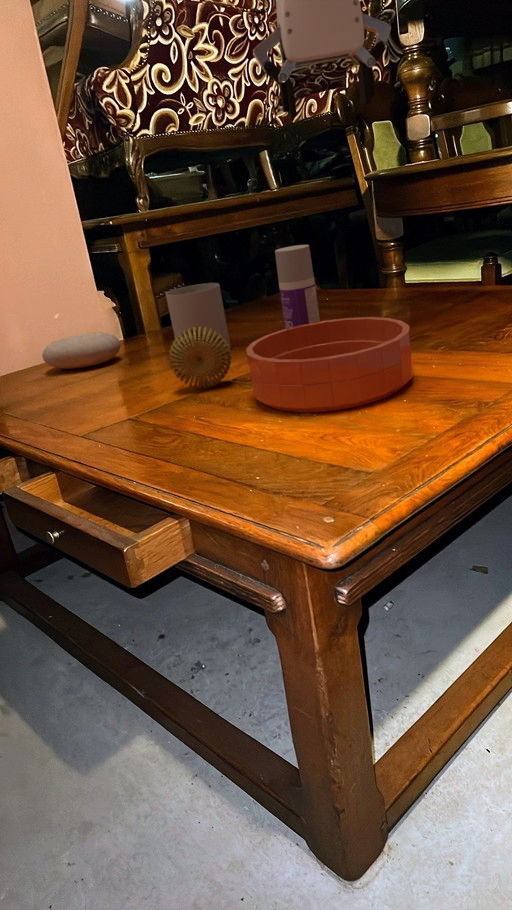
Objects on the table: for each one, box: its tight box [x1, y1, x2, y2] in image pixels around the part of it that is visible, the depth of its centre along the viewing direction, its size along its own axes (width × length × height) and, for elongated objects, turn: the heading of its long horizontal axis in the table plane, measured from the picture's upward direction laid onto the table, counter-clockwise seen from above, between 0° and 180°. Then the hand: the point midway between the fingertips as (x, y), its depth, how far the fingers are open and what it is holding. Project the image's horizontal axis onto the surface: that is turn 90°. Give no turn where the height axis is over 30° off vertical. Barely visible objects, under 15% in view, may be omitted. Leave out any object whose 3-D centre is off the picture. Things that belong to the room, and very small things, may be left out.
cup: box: [165, 282, 232, 356], centre depth 107 cm, size 8×8×10 cm
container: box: [274, 244, 321, 329], centre depth 92 cm, size 5×5×15 cm
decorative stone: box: [41, 332, 121, 370], centre depth 114 cm, size 13×9×5 cm
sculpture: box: [168, 326, 232, 389], centre depth 89 cm, size 8×4×8 cm, turn 90°
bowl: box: [245, 316, 414, 413], centre depth 80 cm, size 19×19×6 cm
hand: (329, 111), depth 89 cm, fingers open, 9 cm apart
